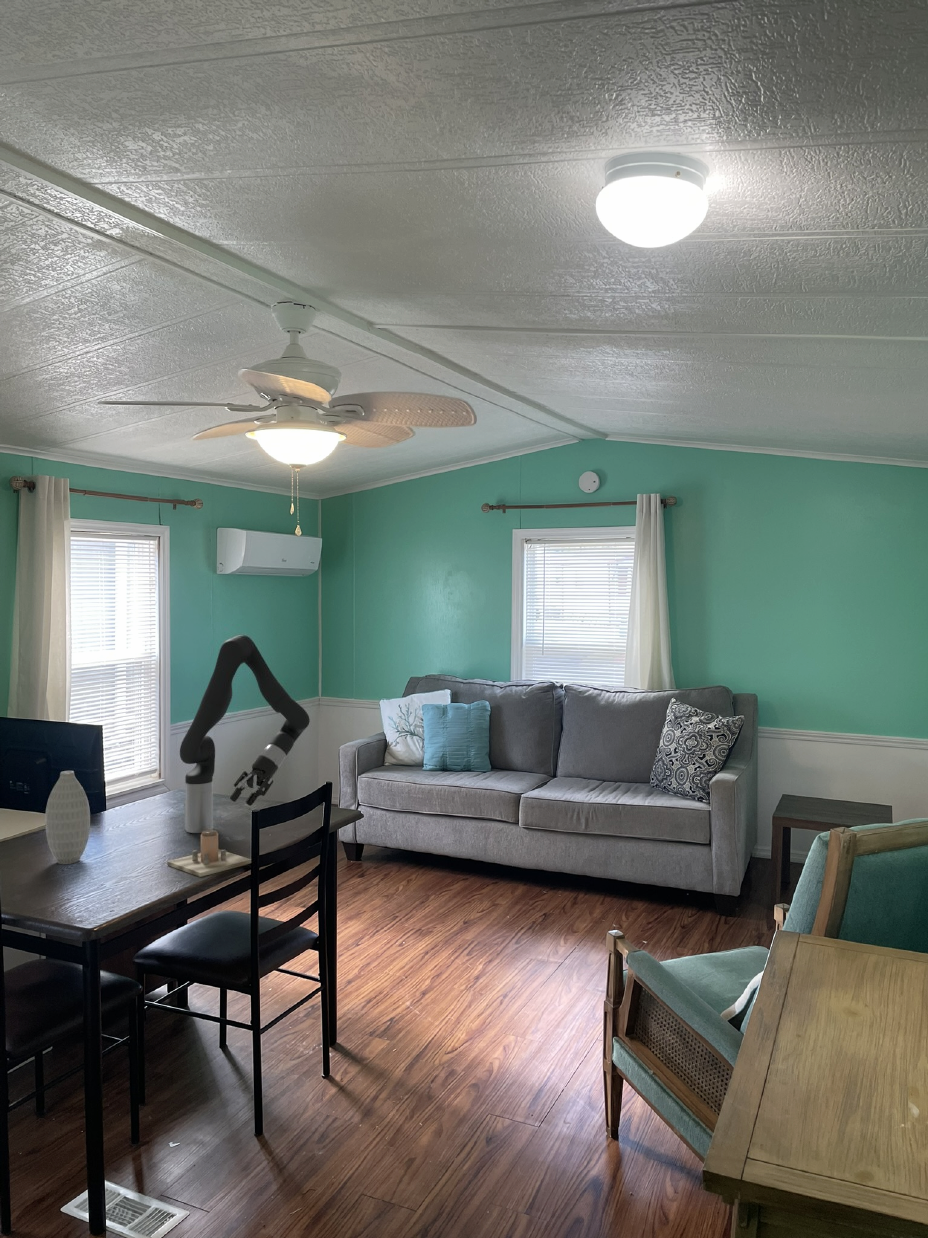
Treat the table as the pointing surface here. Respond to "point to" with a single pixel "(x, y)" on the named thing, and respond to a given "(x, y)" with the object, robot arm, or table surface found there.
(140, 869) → the table surface
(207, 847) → the canister
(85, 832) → the vase
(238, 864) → the peg plate
